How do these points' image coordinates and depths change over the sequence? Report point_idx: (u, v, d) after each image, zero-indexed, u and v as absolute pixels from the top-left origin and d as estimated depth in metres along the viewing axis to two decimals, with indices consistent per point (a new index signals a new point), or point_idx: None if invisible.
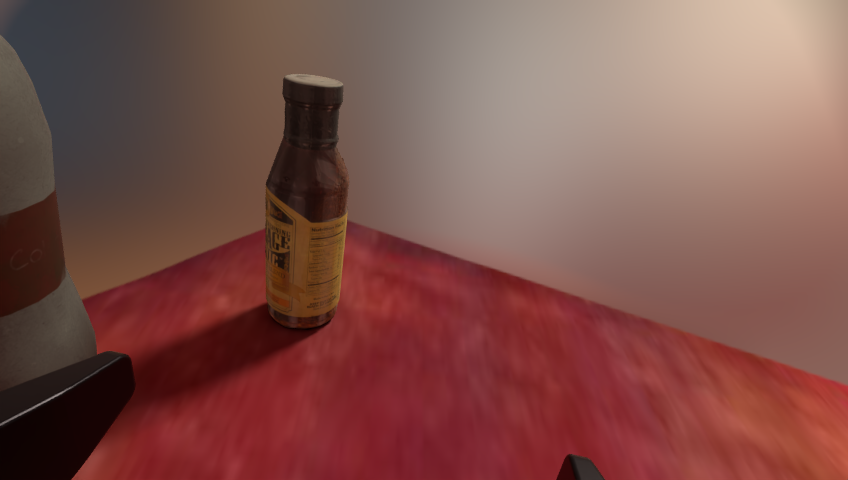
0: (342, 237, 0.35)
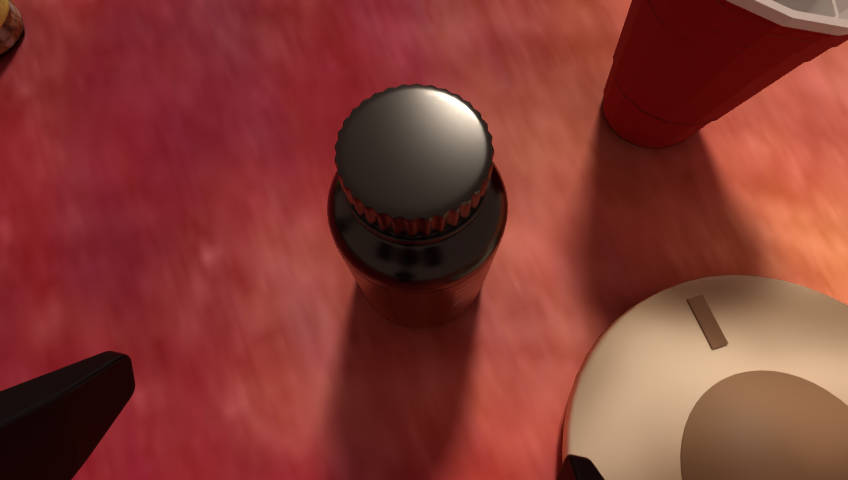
0: None
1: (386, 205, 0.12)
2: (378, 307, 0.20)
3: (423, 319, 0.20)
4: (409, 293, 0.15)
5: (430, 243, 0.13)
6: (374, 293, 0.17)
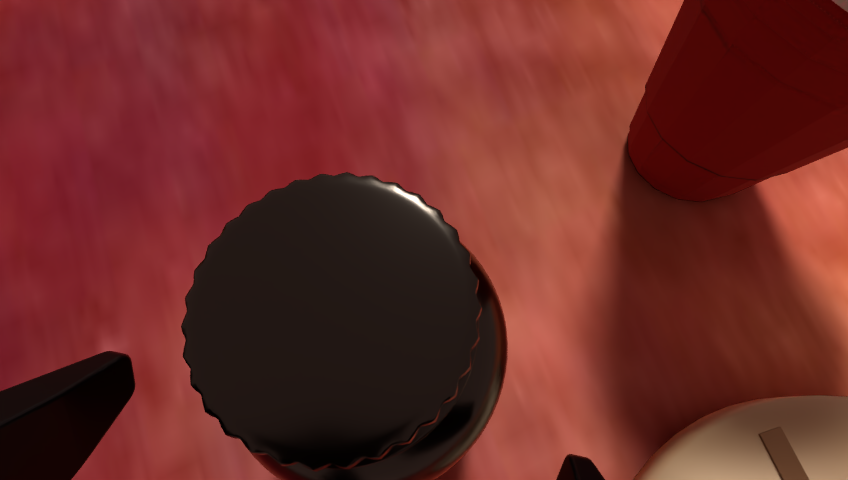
0: None
1: (267, 434, 0.06)
2: None
3: None
4: None
5: None
6: None
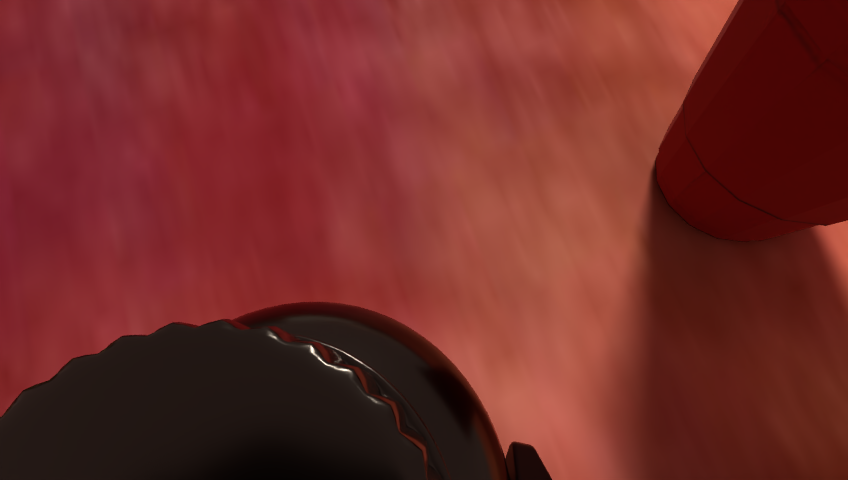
0: None
1: None
2: None
3: None
4: None
5: None
6: None
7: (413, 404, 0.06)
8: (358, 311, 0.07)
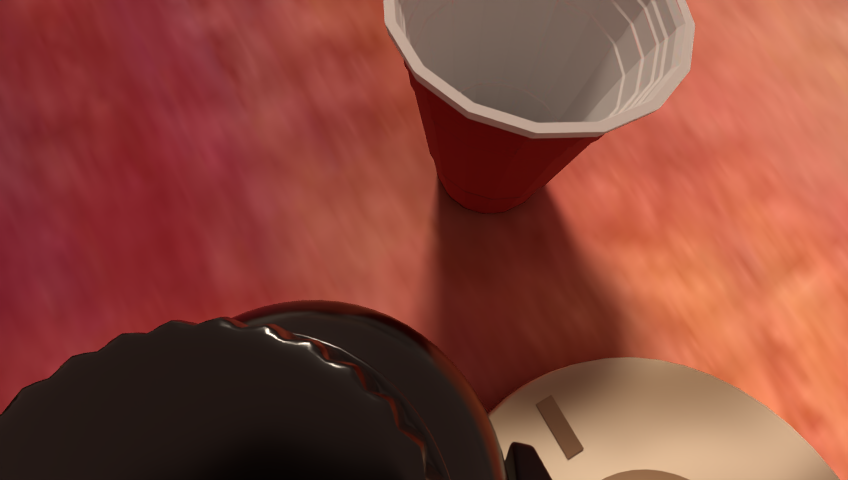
0: None
1: None
2: None
3: None
4: None
5: None
6: None
7: (411, 402, 0.06)
8: (356, 310, 0.07)
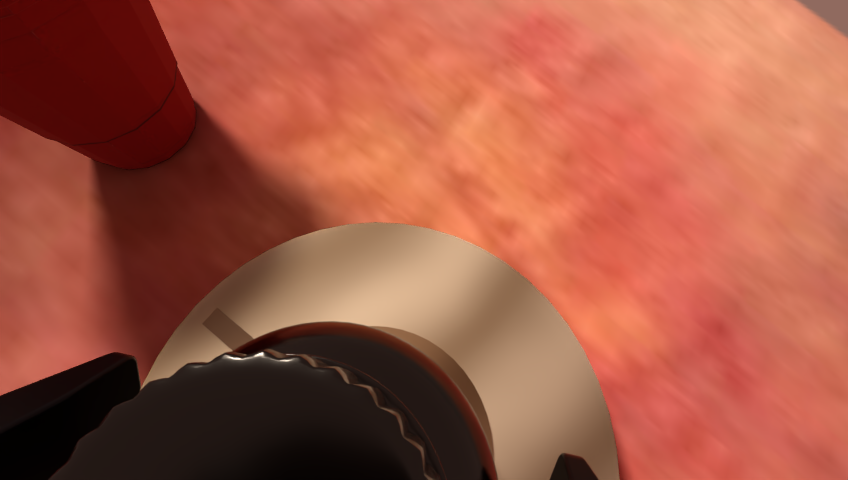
0: None
1: None
2: None
3: None
4: None
5: None
6: None
7: (413, 411, 0.07)
8: (365, 330, 0.09)
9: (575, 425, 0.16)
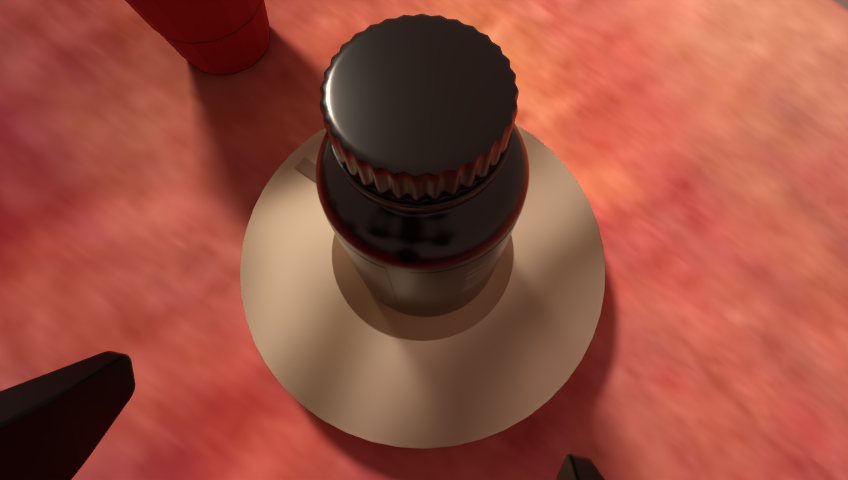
0: None
1: (384, 158, 0.10)
2: (377, 293, 0.18)
3: (429, 306, 0.17)
4: (413, 273, 0.13)
5: (439, 209, 0.11)
6: (372, 275, 0.15)
7: None
8: None
9: (573, 232, 0.22)
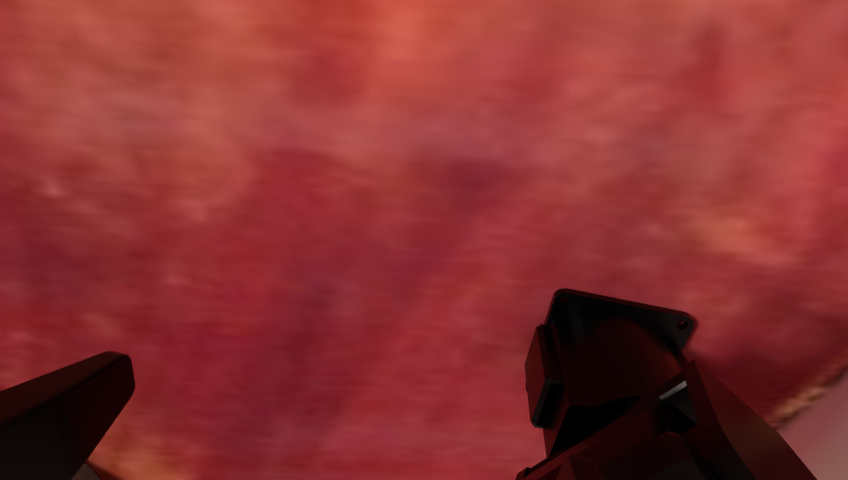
0: None
1: None
2: None
3: None
4: None
5: None
6: None
7: None
8: None
9: None
